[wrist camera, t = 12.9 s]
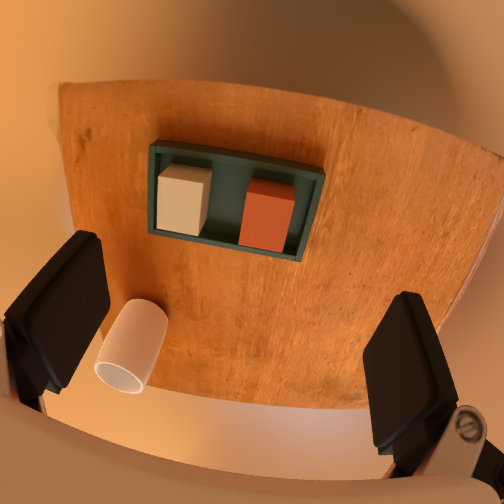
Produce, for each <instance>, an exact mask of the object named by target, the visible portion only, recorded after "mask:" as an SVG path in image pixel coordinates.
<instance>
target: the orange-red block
mask: <svg viewBox="0 0 504 504" xmlns="http://www.w3.org/2000/svg"><path fill="white" fill-rule="evenodd" d="M294 204H295V192H294V185H290V184H285V183H280V182H275V181H270V180H264V179H259V178H254V177H251V180H250V183H249V187H248V190H247V194H246V200H245V206H244V212H243V218H242V225H241V231H240V237H239V243H238V244H239V245H243V246H249V247H254V248H259V249H264V250H270V251H275V252H280V253H282V252H283V248H284V244H285V240H286V236H287V232H288V228H289V224H290V220H291V216H292V212H293V208H294Z"/></svg>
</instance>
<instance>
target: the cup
mask: <svg viewBox="0 0 504 504" xmlns="http://www.w3.org/2000/svg"><path fill="white" fill-rule="evenodd" d="M167 326H168V317H167V316H166V314H165V312H164V311H163V310H162V309H161V308H160V307H159V306H157V305H156V304H154V303H152V302H151V301H148V300H144V299H132V300H130V301H128V302H127V303H126V305H125V306H124V308H123V309H122V311H121V312H120V314H119V315H118V317H117V318H116V320H115V322H114V324H113V325H112V327H111V329H110V331H109V332H108V334H107V336H106V338H105V340H104V342H103V344H102V347H101V349H100V351H99V354H98V356H97V359H96V362H95V364H94V370H95V372H96V374H97V376H98V377H99V378H100V379H101V380H102V381H103V382H104V383H106V384H107V385H109V386H110V387H112V388H114V389H116V390H119V391H121V392H125V393H131V394H136V393H140V392H142V391H143V389H144V387H145V385H146V383H147V381H148V379H149V377H150V375H151V373H152V370H153V368H154V366H155V363H156V360H157V357H158V355H159V352H160V349H161V346H162V343H163V340H164V336H165V333H166V330H167Z"/></svg>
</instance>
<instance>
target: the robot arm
mask: <svg viewBox="0 0 504 504" xmlns="http://www.w3.org/2000/svg"><path fill="white" fill-rule="evenodd" d="M110 303H111V302H110V296H109V290H108V284H107V278H106V272H105V266H104V259H103V252H102V244H101V240H100V239H99V238H97V235H96V234H95V233H93V232H88V231H83V230H78V231H77V232H76V233H75V234H74V235H73V236H72V237H71V238H70V239H69V240H68V241H67V242H66V243H65V244H64V245H63V246H62V247H61V248H60V249H59V250H58V251H57V253H56V254H55V255H54V256H53V257H52V258H51V259H50V260H49V261H48V262H47V263H46V265H45V266H44V267H43V268H42V269H41V270H40V271H39V272H38V273H37V275H36V276H35V277H34V278H33V279H32V280H31V282H30V283H29V284H28V285H27V286H26V287H25V289H24V290H23V291H22V292H21V293H20V295H19V296H18V297H17V298H16V300H15V301H14V302H13V303H12V305H11V306H10V307H9V308H8V310H7V311H6V312H5V314H4V315H5V317H6V318H5V319H4V321H3V322H2V321H1V319H0V504H504V454H503V453H502V452H501V451H500V450H498V449H497V448H496V447H495V446H494V445H493V444H491V443H490V442H489V441H488V440H486V436H487V424H486V422H485V419H484V417H483V416H482V414H481V413H480V412H479V411H478V410H477V409H476V408H474V407H472V406H469V405H462V406H460V407H458V408H457V404H456V402H457V401H458V400H459V399H458V395H457V392H456V389H455V386H454V382H453V380H452V377H451V373H450V370H449V367H448V364H447V361H446V359H445V356H444V353H443V350H442V347H441V345H440V342H439V339H438V336H437V334H436V331H435V329H434V326H433V323H432V321H431V318H430V316H429V314H428V311H427V309H426V306H425V304H424V302H423V299H422V297H421V295H420V294H418V293H413V292H407V291H403V292H401V293H400V295H396V296H395V297H394V299H393V301H392V303H391V304H390V306H389V308H388V310H387V312H386V313H385V315H384V317H383V319H382V320H381V322H380V324H379V326H378V327H377V329H376V331H375V332H374V334H373V336H372V337H371V339H370V341H369V342H368V344H367V346H366V347H365V349H364V352H363V364H364V371H365V377H366V384H367V391H368V399H369V407H370V415H371V424H372V433H373V442H374V445H375V447H378V454H379V455H393V458H394V462H393V464H392V465H391V466H390V468H389V469H388V471H387V472H386V474H385V475H384V476H383V478H382V479H377V480H351V481H350V480H349V481H321V480H297V479H282V478H271V477H262V476H253V475H245V474H238V473H232V472H225V471H219V470H213V469H208V468H203V467H198V466H193V465H189V464H185V463H181V462H176V461H172V460H168V459H165V458H161V457H157V456H153V455H150V454H146V453H143V452H140V451H136V450H133V449H130V448H127V447H124V446H121V445H118V444H115V443H112V442H109V441H106V440H103V439H101V438H98V437H96V436H93V435H91V434H88V433H86V432H83V431H81V430H78V429H76V428H73V427H71V426H68V425H66V424H64V423H62V422H60V421H57V420H55V419H53V418H51V417H49V416H47V413H46V409H45V405H44V401H43V396H42V394H43V392H44V390H45V389H47V390H49V391H51V392H53V393H56V394H59V393H60V391H61V389H62V388H66V387H67V386H68V384H69V382H70V380H71V378H72V376H73V374H74V372H75V370H76V369H77V367H78V365H79V363H80V361H81V359H82V357H83V355H84V353H85V352H86V350H87V348H88V346H89V344H90V343H91V341H92V339H93V337H94V335H95V334H96V332H97V330H98V328H99V327H100V325H101V323H102V321H103V320H104V318H105V316H106V315H107V313H108V311H109V309H110Z"/></svg>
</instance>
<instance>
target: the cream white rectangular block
mask: <svg viewBox="0 0 504 504" xmlns="http://www.w3.org/2000/svg"><path fill="white" fill-rule="evenodd" d="M211 177H212V169H206V168H200V167H194V166H187V165H181V164H174V163H171V164H170V165H169V166H168V167H167V168H166V169H165V170H164V171H163V172H162V173H161V174H160V175H159V176H158V199H157V228H158V229H163V230H168V231H174V232H179V233H184V234H189V235H194V236H198V235H199V233H200V231H201V229H202V227H203V225H204V223H205V221H206V218H207V211H208V202H209V194H210V185H211Z"/></svg>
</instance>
